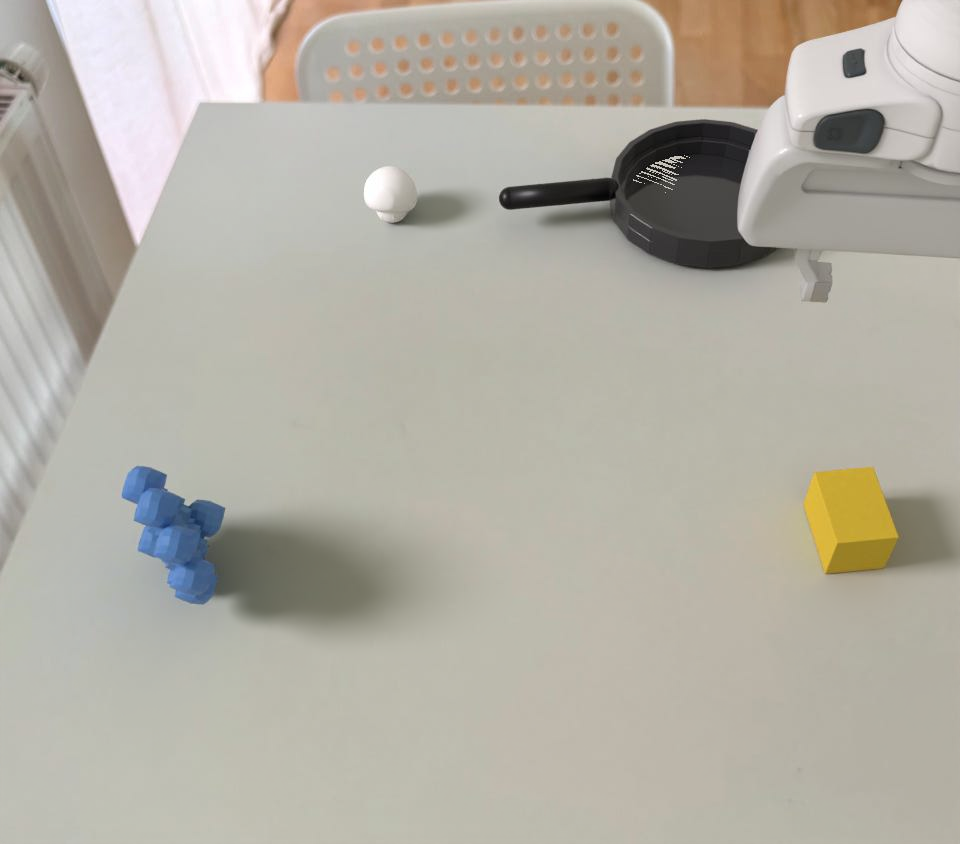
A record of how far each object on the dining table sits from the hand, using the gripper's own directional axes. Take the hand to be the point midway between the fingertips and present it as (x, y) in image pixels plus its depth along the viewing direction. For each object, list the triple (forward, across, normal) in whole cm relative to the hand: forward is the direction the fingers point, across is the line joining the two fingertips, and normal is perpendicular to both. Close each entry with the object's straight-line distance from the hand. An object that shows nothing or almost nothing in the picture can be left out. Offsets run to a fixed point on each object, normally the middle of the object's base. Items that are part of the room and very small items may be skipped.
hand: (893, 300), depth 66 cm
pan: (+21, +10, -34) cm, 42 cm away
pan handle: (+19, +23, -31) cm, 43 cm away
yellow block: (+21, -2, +2) cm, 22 cm away
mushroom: (+22, +38, -31) cm, 54 cm away
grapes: (+22, +45, +11) cm, 52 cm away
